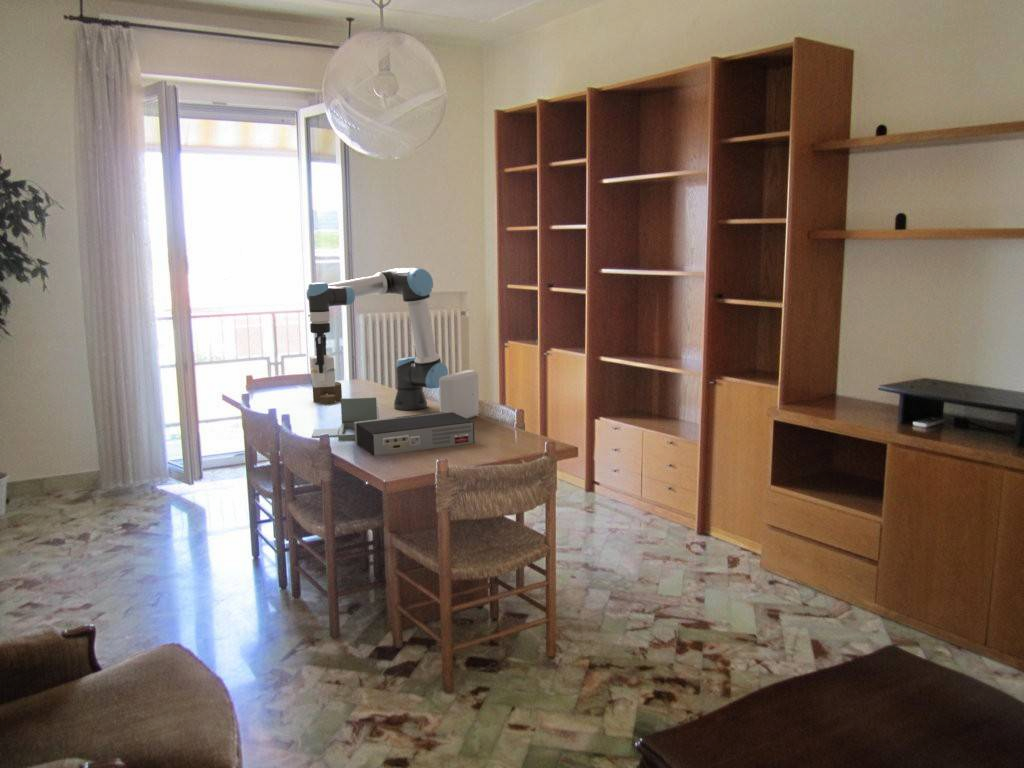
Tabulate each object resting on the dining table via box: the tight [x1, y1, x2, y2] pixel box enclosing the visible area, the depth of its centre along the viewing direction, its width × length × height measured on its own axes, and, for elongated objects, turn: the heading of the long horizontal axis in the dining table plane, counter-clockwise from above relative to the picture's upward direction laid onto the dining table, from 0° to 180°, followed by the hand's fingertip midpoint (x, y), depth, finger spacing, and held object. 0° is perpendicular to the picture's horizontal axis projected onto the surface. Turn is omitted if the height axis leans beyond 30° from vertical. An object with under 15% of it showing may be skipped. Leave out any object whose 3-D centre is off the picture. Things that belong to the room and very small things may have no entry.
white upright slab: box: [438, 369, 480, 420], centre depth 355 cm, size 21×8×20 cm, turn 149°
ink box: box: [309, 354, 336, 388], centre depth 329 cm, size 9×8×12 cm
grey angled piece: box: [337, 396, 380, 441], centre depth 334 cm, size 16×24×12 cm, turn 8°
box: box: [354, 411, 475, 457], centre depth 318 cm, size 40×25×9 cm, turn 117°
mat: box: [311, 427, 340, 438], centre depth 334 cm, size 10×12×1 cm
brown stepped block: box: [312, 381, 343, 405], centre depth 399 cm, size 14×14×15 cm
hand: (322, 378), depth 330 cm, fingers closed on ink box, 9 cm apart
